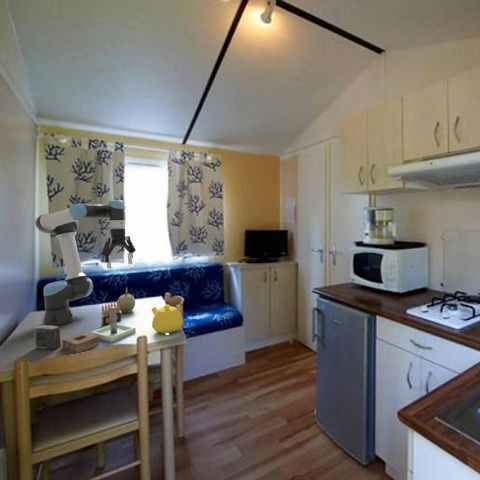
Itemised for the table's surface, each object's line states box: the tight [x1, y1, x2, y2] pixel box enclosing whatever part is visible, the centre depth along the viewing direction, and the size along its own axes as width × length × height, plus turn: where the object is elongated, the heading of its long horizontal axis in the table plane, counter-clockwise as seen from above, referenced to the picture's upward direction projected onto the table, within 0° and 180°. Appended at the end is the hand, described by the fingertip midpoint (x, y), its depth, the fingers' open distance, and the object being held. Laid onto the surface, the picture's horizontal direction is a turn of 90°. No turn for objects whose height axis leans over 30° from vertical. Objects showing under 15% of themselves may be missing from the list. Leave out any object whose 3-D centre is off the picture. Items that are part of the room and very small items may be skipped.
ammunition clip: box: [100, 300, 122, 327], centre depth 164 cm, size 11×2×12 cm, turn 144°
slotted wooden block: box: [61, 331, 100, 354], centre depth 134 cm, size 12×10×4 cm
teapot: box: [151, 304, 184, 334], centre depth 150 cm, size 20×16×14 cm
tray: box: [90, 322, 137, 343], centre depth 147 cm, size 16×14×2 cm
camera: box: [33, 324, 62, 350], centre depth 134 cm, size 11×6×10 cm, turn 75°
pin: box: [109, 306, 118, 334], centre depth 147 cm, size 3×3×13 cm
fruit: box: [117, 287, 136, 314], centre depth 182 cm, size 10×12×15 cm
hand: (120, 266), depth 161 cm, fingers open, 13 cm apart
